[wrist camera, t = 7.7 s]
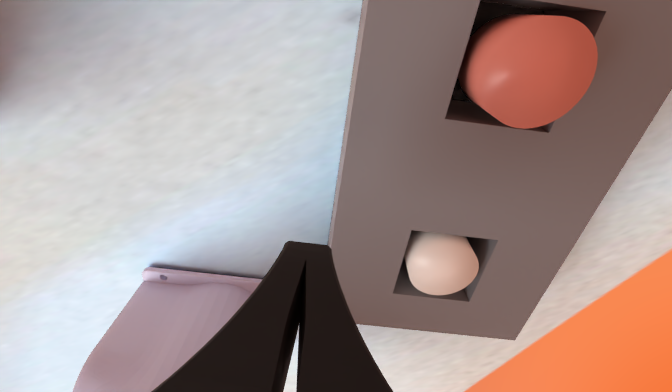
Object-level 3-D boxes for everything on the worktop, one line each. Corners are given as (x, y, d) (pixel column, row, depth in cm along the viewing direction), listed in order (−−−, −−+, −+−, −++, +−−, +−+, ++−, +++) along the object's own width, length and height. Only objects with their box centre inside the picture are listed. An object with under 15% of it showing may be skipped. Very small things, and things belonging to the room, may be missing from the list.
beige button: (394, 255, 21) (401, 291, 18) (408, 207, 19) (418, 239, 16) (450, 261, 21) (465, 298, 18) (469, 214, 19) (489, 247, 16)
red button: (447, 101, 14) (469, 121, 12) (474, 7, 13) (508, 7, 10) (525, 111, 15) (565, 134, 12) (564, 20, 13) (620, 24, 10)
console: (323, 272, 23) (320, 320, 20) (377, -100, 13) (389, -140, 10) (489, 291, 23) (514, 340, 20) (663, -54, 14) (773, -75, 10)
